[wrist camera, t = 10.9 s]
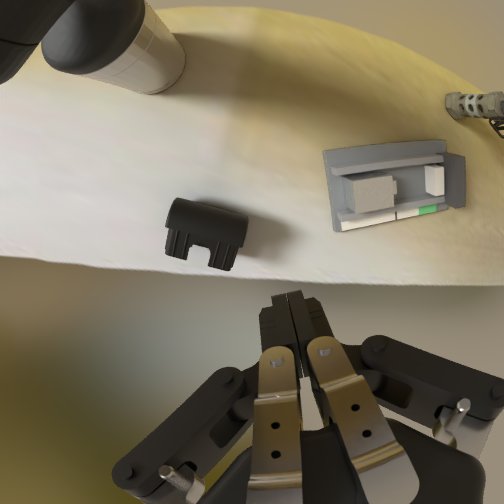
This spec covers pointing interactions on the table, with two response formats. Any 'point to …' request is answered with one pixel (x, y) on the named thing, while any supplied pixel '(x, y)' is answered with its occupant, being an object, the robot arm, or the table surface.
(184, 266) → the table surface
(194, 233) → the end cap
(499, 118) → the grenade model
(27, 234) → the table surface
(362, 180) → the grey textured block
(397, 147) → the gauge board
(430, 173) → the white upright block
